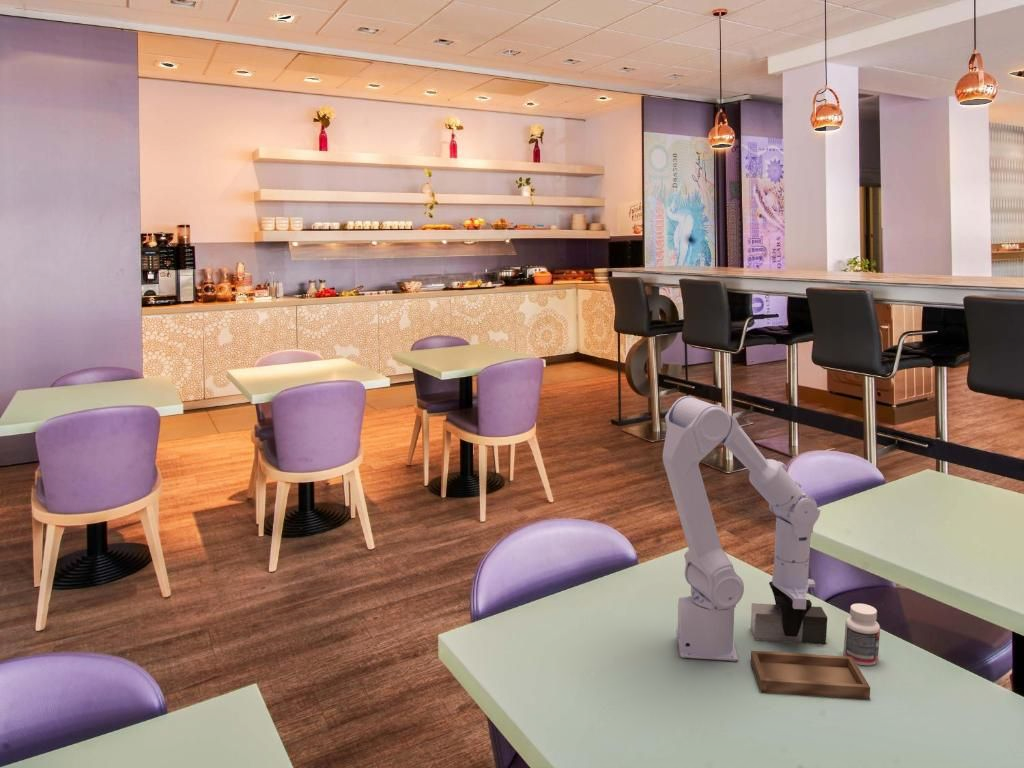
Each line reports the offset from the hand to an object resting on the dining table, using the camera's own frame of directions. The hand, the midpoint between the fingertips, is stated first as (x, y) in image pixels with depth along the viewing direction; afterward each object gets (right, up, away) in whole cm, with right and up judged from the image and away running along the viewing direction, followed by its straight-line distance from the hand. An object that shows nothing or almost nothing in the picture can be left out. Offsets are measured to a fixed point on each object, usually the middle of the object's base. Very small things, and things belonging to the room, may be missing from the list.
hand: (787, 629), depth 131 cm
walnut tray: (-2, -4, -13) cm, 14 cm away
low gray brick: (0, -1, 0) cm, 1 cm away
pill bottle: (+9, -3, -7) cm, 12 cm away
